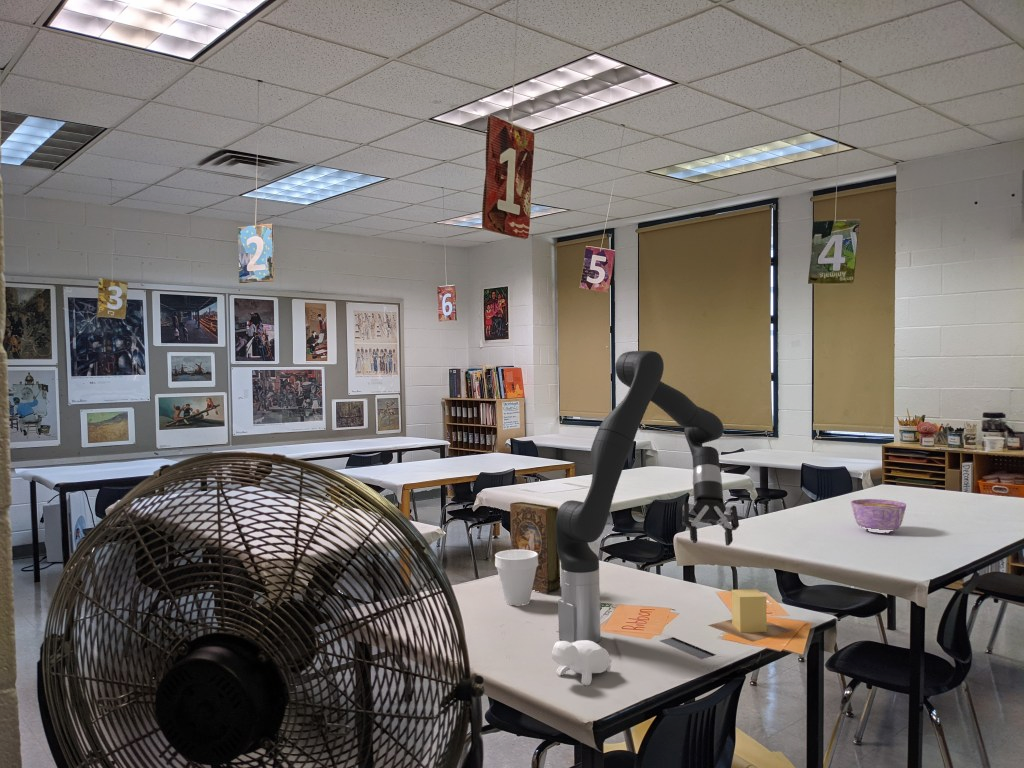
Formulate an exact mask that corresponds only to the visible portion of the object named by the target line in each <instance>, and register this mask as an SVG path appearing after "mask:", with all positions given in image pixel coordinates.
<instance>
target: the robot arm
mask: <svg viewBox="0 0 1024 768" xmlns="http://www.w3.org/2000/svg"><path fill="white" fill-rule="evenodd" d="M664 366H665V364H664V359H663V357H662V355H661V354H660V353H658V352H657V351H655V350H654V351H653V350H632V351H631V350H630V351H626V352H623V353H622V354H620V355H619V357H618V358H617V360H616V363H615V373H616V376H617V379H618V380H619V381H620V382H621V383H622V384H624V385H625V386H626V387H628V388H629V389H628V391H627V393H626V395H625V396H624V398H623V399H622V400H621V401H620V402H619V403H618V404H617V406H616V407H615V408H613V409H612V411H611V412H609V413H608V415H606V417H605V418H604V419H603V420H602V422H601V424H600V425H599V427H598V429H597V432H596V435H595V437H594V438H593V439H594V440H593V442H592V444H591V449H590V461H591V462H590V463H591V473H592V475H591V483H590V485H589V486H590V487H589V489H588V493H587V495H586V497H585V499H584V501H579V500H574V499H573V500H571V499H570V500H567V501H564V502H563V503H562V504H561V505H560V506H559V507H558V509H559V510H558V512H557V516H556V540H557V553H558V557H559V559H560V589H561V594H560V595H561V599H558V600H557V601H558V602H557V606H558V607H557V609H558V610H557V613H558V639H559V641H567V642H570V643H573V642H575V641H581V640H589V641H592V642H595V643H596V644H598V643H599V642H600V641H601V597H600V594H601V593H600V559H599V556H598V555H597V554H596V553H595V552H594V551H593V550H592V549H591V547H590V545H589V544H590V543H594V542H595V541H597V540H598V539H599V538H600V537H601V536H602V534H603V532H604V530H605V528H606V525H607V522H608V519H609V515H610V511H611V507H612V503H613V500H614V495H615V493H616V490H617V486H618V483H619V480H620V478H621V475H622V472H623V469H624V466H625V464H626V461H627V460H628V457H629V454H630V452H631V450H632V447H633V444H634V441H635V438H636V436H637V432H638V429H639V428H640V425H641V423H642V420H643V419H644V415H645V413H646V410H647V409H648V406H649V404H650V402H652V404H654V405H655V406H657V407H659V408H660V409H661V410H662V411H663V412H664V413H666V414H667V415H668V416H669V417H670V418H671V419H672V420H674V422H675V423H676V424H677V425H679V426H680V427H682V428H684V436H685V438H686V442H687V444H688V448H689V450H690V453H691V456H692V470H693V471H692V472H693V473H692V487H693V501H694V502H693V503H694V504H692V503H691V504H690V503H689V502H687V501H685V502H684V503H683V505H682V509H681V510H682V513H681V520H682V521H681V525H682V526H683V527H686V528H688V529H689V539H690V541H691V542H692V543H693V544H697V542H698V529H697V528H698V527H696V526H697V524H699V523H700V521H702V522H703V523H708V522H710V523H718V524H719V526H720V527H722V528H723V530H724V541H725V546H730V545H731V544H732V543H733V541H734V539H733V531H737V530H738V528H739V527H740V523H739V515H738V508H737V506H736V505H735V504H734V505H732V506H726V505H725V504H724V503H725V502H724V493H723V492H724V491H723V490H724V489H723V481H722V473H721V470H720V469H721V467H720V465H721V464H720V456H719V454H720V453H719V451H718V450H717V449H716V448H715V447H713V446H706V445H704V446H703V444H706V443H709V442H713V441H716V440H719V439H720V438H721V437H722V436H723V434H724V426H723V425H724V424H723V422H722V420H721V419H720V418H719V417H718V416H717V415H716V414H714V413H713V412H711V411H709V410H707V409H705V408H703V407H700V406H698V405H696V404H695V403H694V402H693V400H692V399H690V398H689V397H688V396H687V395H686V394H684V393H683V392H682V391H680V390H679V389H677V388H675V387H673V386H670V385H669V384H668V383H667V384H666V383H664V382H663V381H661V380H662V377H663V374H664ZM691 511H694V513H695V514H696V516H695V518H694V519H693V520H692V521H690V512H691ZM725 512H726V513H727V515H728V516H729V518H730V521H728V518H727V516H725Z"/></svg>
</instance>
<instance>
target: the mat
mask: <svg viewBox="0 0 1024 768" xmlns="http://www.w3.org/2000/svg"><path fill="white" fill-rule="evenodd" d="M659 642H661V643H663V644H665V645H668V646H670V647H672V648H675V649H677V650H680V651H682V652H684V653H686V654H689V655H691V656H694V657H695V658H698V659H701V660H703V659H707V658H710V657H714V656H717V654H716V653H713V652H711V651H708V650H706V649H703V648H700V647H698V646H696V645H693V644H691V643H689V642H685V641H684V640H681V639H679V638H676V637H674V636H672V637H669V638H668V637H667V638H665V639H661V640H659Z"/></svg>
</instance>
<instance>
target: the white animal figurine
mask: <svg viewBox="0 0 1024 768" xmlns="http://www.w3.org/2000/svg"><path fill="white" fill-rule="evenodd" d="M551 660H553V662H555V663H556V664H557V665H559V666H558V668H557V669H556V672H555V674H556V676H558V677H562V676H564V675H565V674H566V673H567V672H568V671H570V670H571V671H573V672H574V673H577V674H581V684H582V685H583V686H590V685H591V683H592V680H593V679H592V677H593V674H601V673H603V672H607V673H611V672H610V671H611V668H612V665H611V664H612V661H613V659H612V658H611V657H610V654H609V652H608V650H607V649H605V648H604V647H602V646H600V645H599V644H598V643H595V642H592V641H589V640H581V641H575V642H573V643H570V642H567V641H562V640H559V641H556V642H555V643H554V645H553V647H552V652H551ZM561 675H562V676H561Z"/></svg>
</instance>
